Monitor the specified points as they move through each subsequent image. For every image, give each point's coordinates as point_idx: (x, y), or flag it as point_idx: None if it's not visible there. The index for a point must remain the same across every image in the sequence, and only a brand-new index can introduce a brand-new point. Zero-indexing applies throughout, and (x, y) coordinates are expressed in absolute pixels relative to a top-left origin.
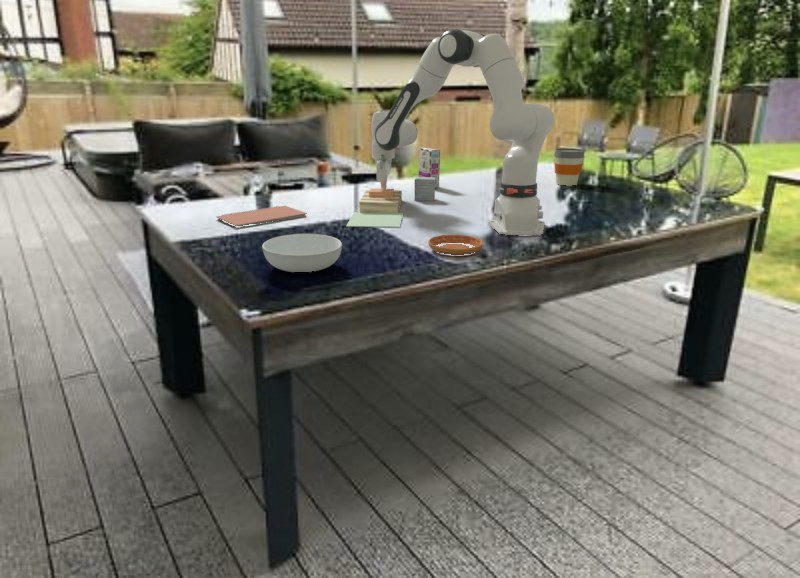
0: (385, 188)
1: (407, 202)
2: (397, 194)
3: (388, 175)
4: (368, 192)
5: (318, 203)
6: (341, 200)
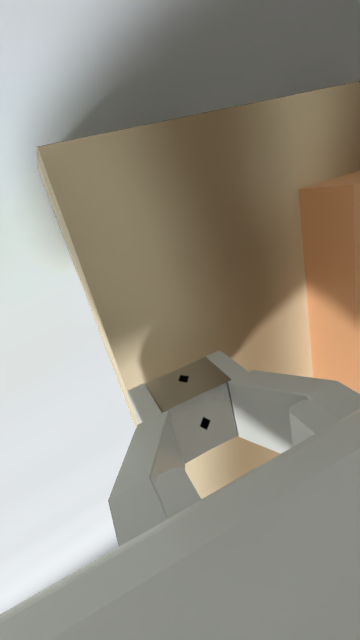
0: (226, 355)
1: (105, 66)
2: (313, 135)
3: (220, 510)
4: (270, 459)
5: None
6: None
